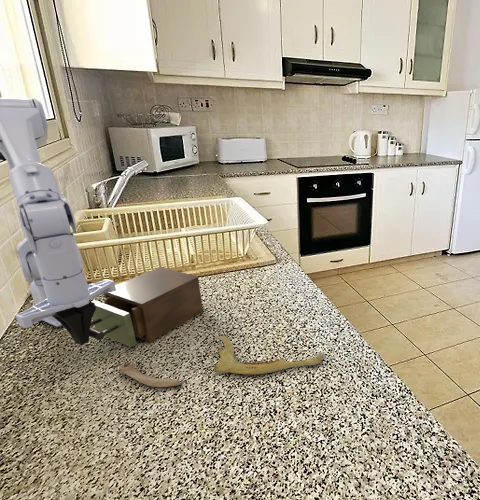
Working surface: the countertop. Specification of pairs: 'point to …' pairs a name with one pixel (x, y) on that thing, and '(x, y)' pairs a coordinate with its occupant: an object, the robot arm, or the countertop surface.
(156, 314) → the cabinet
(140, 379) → the bone
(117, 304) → the drawer
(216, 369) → the jawbone
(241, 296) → the countertop surface
